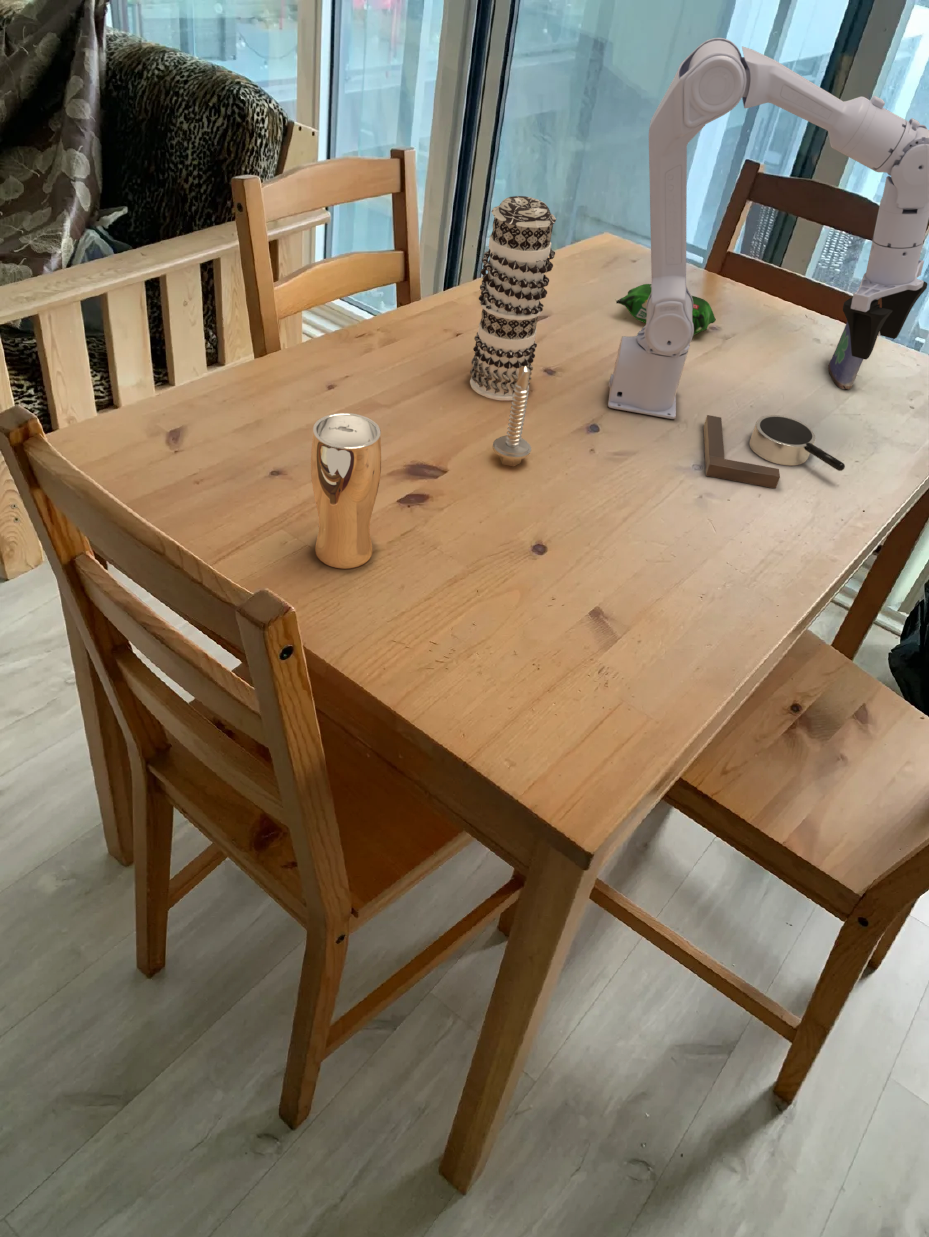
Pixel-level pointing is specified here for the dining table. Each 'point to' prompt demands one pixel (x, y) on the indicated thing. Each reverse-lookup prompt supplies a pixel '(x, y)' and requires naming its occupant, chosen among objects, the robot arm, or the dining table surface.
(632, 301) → the snack package
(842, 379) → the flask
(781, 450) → the steel pan
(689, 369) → the dining table surface
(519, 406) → the screw
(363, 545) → the beer glass
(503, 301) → the decorative candle
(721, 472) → the corner stop
